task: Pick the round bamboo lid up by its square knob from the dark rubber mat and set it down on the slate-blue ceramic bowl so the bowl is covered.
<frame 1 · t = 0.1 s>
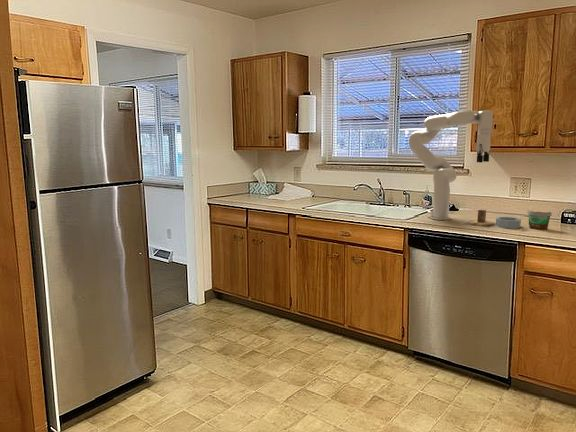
hand: (482, 161, 275), 37 cm above the worktop, tool pointing down, fingers open, 9 cm apart
food container: (537, 229, 264), on the worktop
lid: (481, 223, 276), point 1 cm above the worktop, touching mat
mat: (480, 224, 277), on the worktop
bowl: (507, 227, 269), on the worktop
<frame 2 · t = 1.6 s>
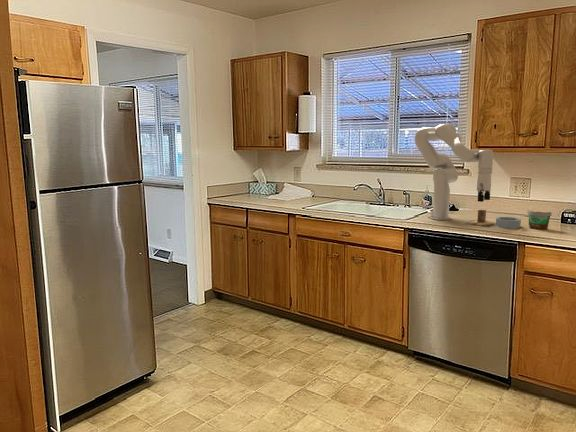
hand: (483, 200, 274), 14 cm above the worktop, tool pointing down, fingers open, 9 cm apart
nothing on the worktop moved.
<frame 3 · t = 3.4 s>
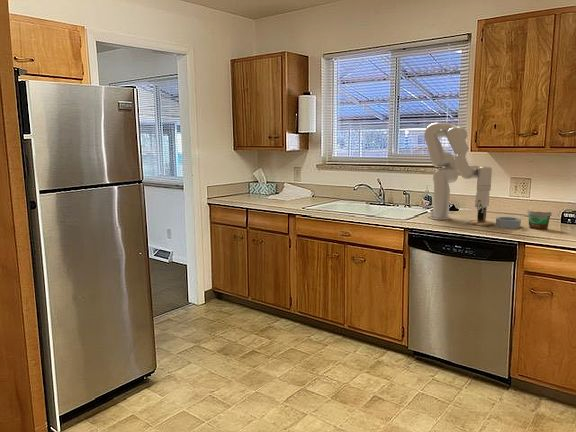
hand: (481, 218, 276), 4 cm above the worktop, tool pointing down, fingers closed on lid, 3 cm apart
lid: (481, 223, 276), point 1 cm above the worktop, touching gripper, mat
everything else where it was.
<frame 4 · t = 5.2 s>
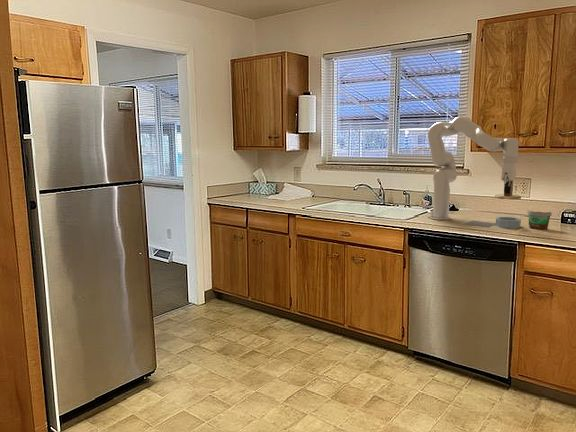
hand: (508, 192, 266), 20 cm above the worktop, tool pointing down, fingers closed on lid, 3 cm apart
lid: (507, 197, 267), point 17 cm above the worktop, touching gripper
everything else where it was.
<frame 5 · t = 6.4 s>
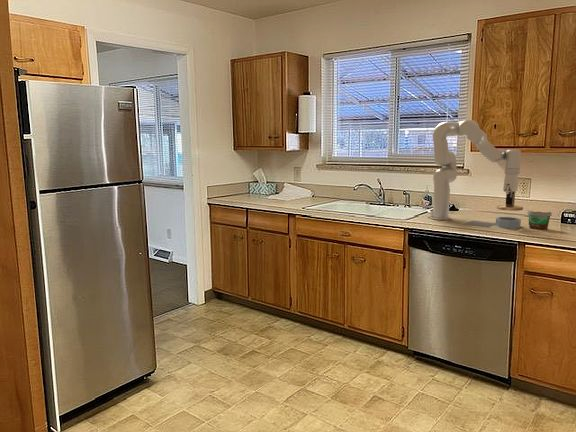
hand: (509, 203, 267), 14 cm above the worktop, tool pointing down, fingers closed on lid, 3 cm apart
lid: (509, 208, 267), point 11 cm above the worktop, touching gripper
everything else where it was.
when the fingers open (9 cm above the worktop, at t = 7.4 s): lid drops 1 cm, resting on bowl.
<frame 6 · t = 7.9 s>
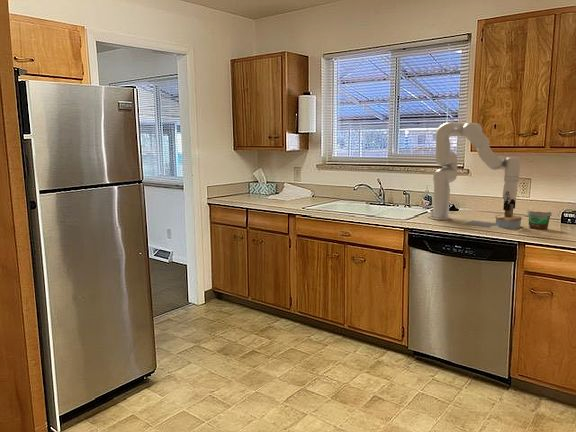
hand: (509, 209, 268), 10 cm above the worktop, tool pointing down, fingers open, 8 cm apart
lid: (508, 218, 269), point 5 cm above the worktop, touching bowl
everything else where it was.
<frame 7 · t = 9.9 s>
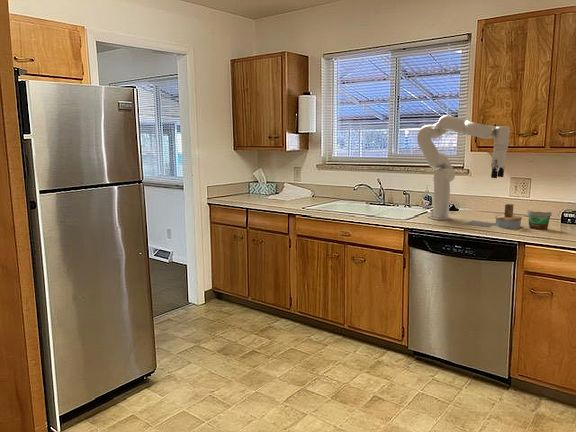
hand: (497, 177, 274), 28 cm above the worktop, tool pointing down, fingers open, 9 cm apart
nothing on the worktop moved.
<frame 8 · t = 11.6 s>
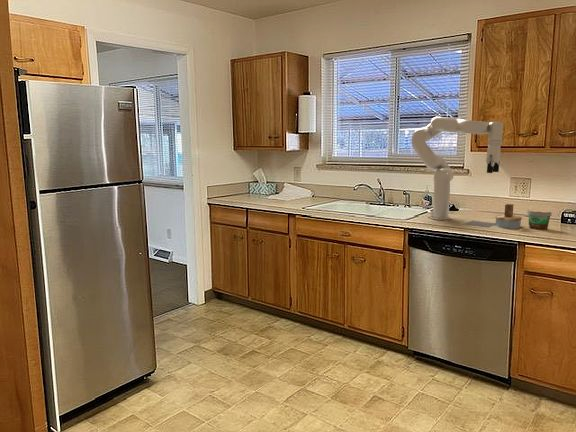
hand: (492, 172, 278), 30 cm above the worktop, tool pointing down, fingers open, 9 cm apart
nothing on the worktop moved.
at the end: lid 0.0 cm off-centre on the bowl, point 5.0 cm above the bowl's base; lid tilted 0°; the gripper is holding nothing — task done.
